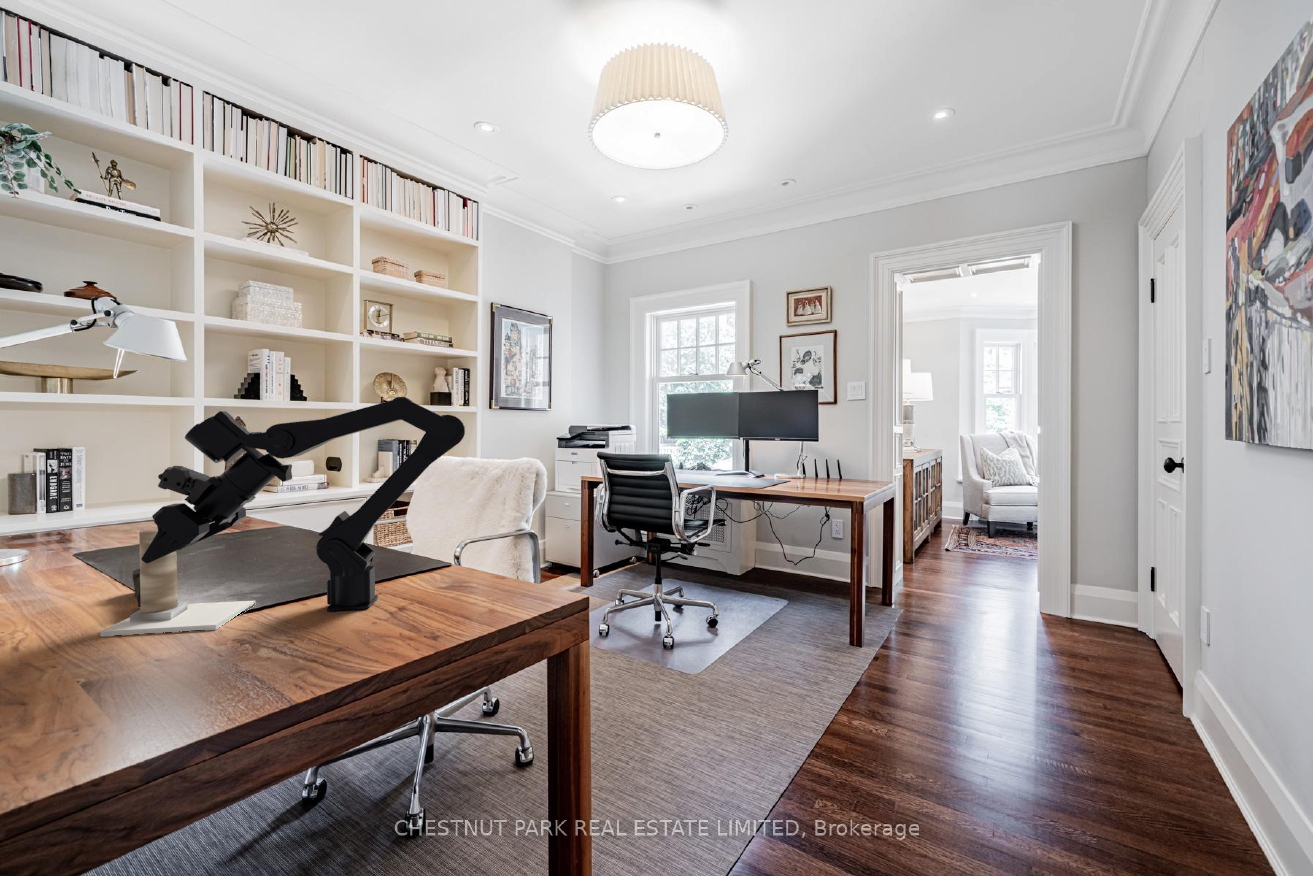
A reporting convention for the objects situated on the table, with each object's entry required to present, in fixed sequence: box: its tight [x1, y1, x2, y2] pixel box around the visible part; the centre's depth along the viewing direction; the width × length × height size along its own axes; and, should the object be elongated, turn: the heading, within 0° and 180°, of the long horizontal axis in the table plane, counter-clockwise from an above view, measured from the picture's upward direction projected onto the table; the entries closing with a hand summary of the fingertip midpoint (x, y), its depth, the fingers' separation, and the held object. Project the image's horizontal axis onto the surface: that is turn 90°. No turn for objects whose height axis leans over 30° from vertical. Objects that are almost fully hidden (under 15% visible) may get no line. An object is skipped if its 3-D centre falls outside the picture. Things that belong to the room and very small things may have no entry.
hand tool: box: [132, 568, 141, 609], centre depth 100 cm, size 19×4×5 cm, turn 45°
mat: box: [99, 600, 256, 638], centre depth 91 cm, size 15×12×1 cm
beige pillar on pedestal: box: [129, 528, 188, 623], centre depth 90 cm, size 5×5×14 cm
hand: (160, 554), depth 90 cm, fingers open, 9 cm apart
